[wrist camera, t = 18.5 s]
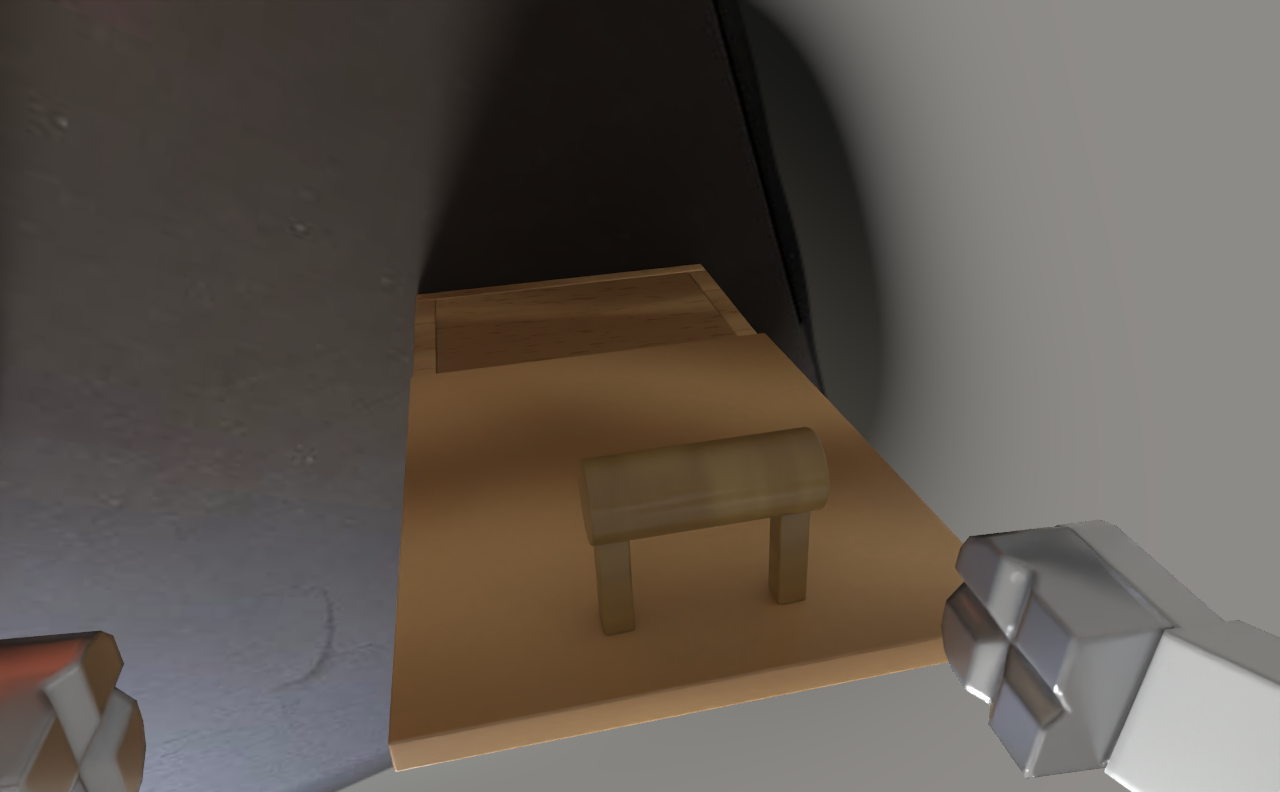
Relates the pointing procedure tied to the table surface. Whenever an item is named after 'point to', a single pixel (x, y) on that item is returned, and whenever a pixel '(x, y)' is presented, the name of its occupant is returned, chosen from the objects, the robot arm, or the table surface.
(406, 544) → the lid
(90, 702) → the robot arm
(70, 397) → the table surface
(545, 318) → the chest
